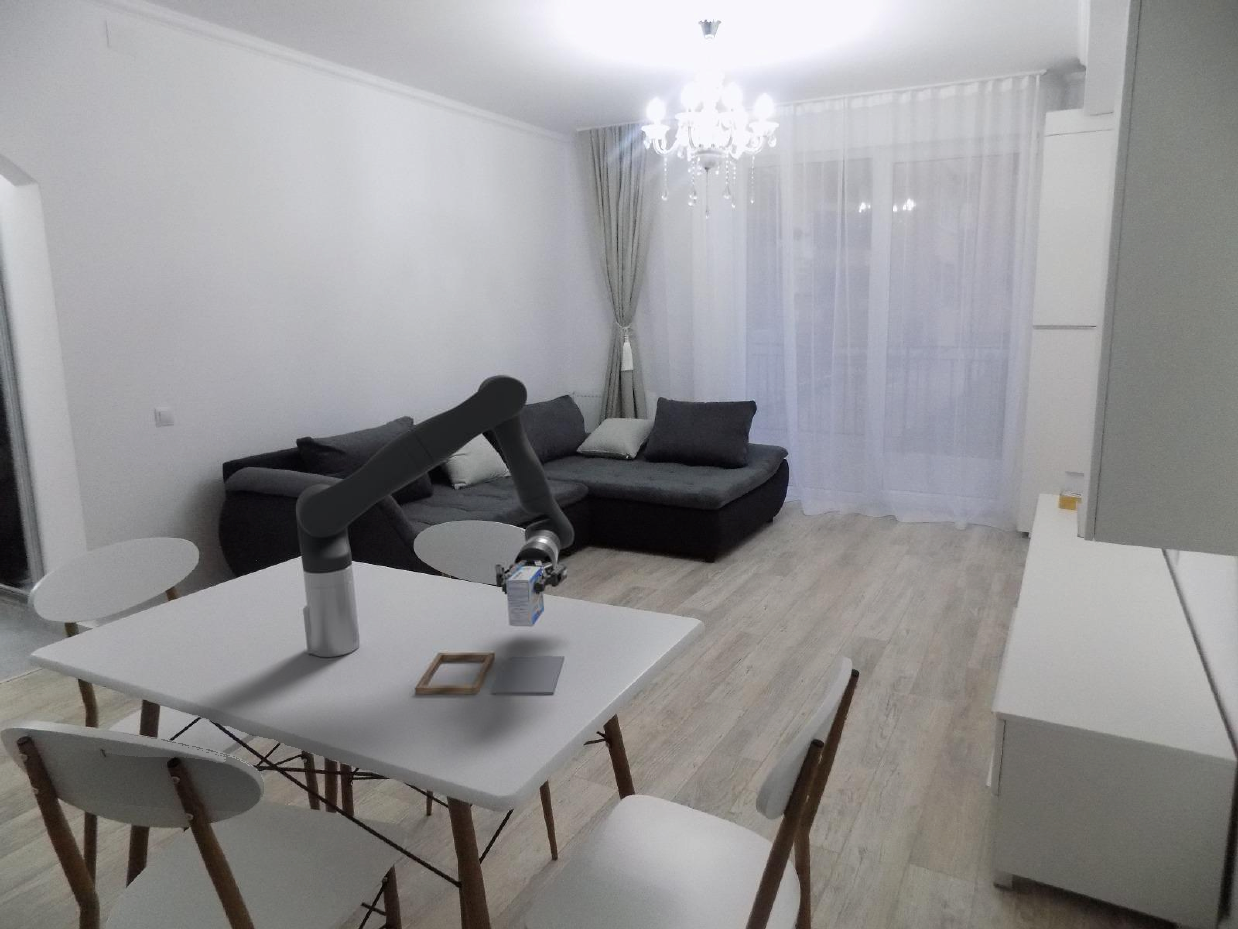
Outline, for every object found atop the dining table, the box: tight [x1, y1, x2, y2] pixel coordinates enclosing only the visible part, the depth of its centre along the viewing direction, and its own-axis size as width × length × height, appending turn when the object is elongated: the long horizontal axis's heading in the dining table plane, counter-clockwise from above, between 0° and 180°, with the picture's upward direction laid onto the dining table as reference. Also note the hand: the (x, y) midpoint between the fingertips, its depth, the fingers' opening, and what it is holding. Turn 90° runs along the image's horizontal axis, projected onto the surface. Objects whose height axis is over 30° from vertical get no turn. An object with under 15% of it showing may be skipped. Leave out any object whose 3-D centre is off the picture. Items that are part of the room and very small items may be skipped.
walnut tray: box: [414, 652, 496, 695], centre depth 152 cm, size 11×15×1 cm
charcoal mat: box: [490, 655, 565, 695], centre depth 152 cm, size 11×15×1 cm
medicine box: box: [506, 566, 545, 627], centre depth 149 cm, size 8×4×9 cm, turn 169°
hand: (522, 589), depth 146 cm, fingers closed on medicine box, 5 cm apart
